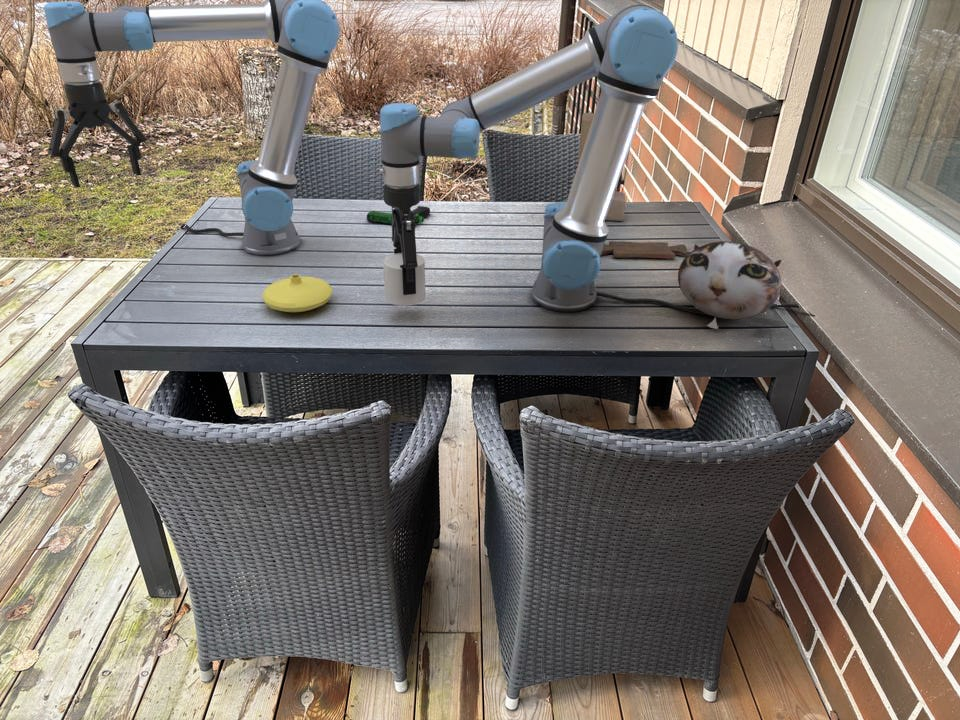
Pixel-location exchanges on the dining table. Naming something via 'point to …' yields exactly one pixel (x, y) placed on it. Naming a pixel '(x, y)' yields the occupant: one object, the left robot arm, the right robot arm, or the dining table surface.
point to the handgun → (387, 217)
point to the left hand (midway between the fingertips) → (107, 180)
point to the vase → (297, 294)
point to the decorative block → (618, 199)
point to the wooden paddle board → (643, 249)
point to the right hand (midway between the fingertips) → (405, 284)
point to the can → (395, 281)
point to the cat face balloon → (729, 280)
